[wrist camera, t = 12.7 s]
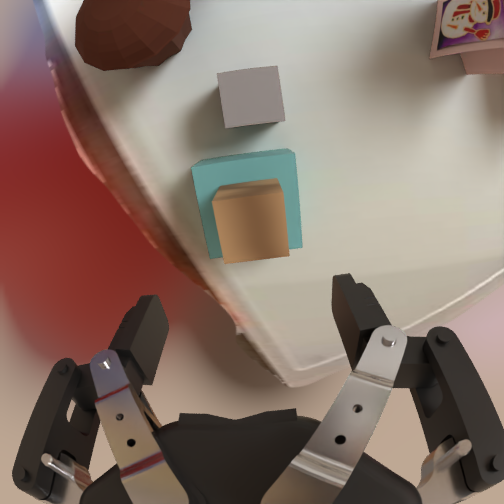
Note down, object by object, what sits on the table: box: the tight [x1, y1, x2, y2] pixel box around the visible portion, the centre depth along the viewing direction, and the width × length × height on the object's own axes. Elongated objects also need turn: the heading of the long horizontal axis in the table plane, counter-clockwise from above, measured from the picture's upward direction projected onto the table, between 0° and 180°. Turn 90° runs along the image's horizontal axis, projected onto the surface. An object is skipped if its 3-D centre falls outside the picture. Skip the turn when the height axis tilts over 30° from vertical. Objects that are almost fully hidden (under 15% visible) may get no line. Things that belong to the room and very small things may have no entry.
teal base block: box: [191, 149, 302, 259], centre depth 26 cm, size 9×9×5 cm
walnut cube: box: [212, 178, 289, 264], centre depth 22 cm, size 5×5×5 cm
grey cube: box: [217, 66, 285, 129], centre depth 22 cm, size 5×5×5 cm
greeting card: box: [429, 0, 504, 75], centre depth 11 cm, size 11×7×15 cm, turn 164°
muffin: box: [75, 0, 192, 71], centre depth 15 cm, size 12×11×10 cm
